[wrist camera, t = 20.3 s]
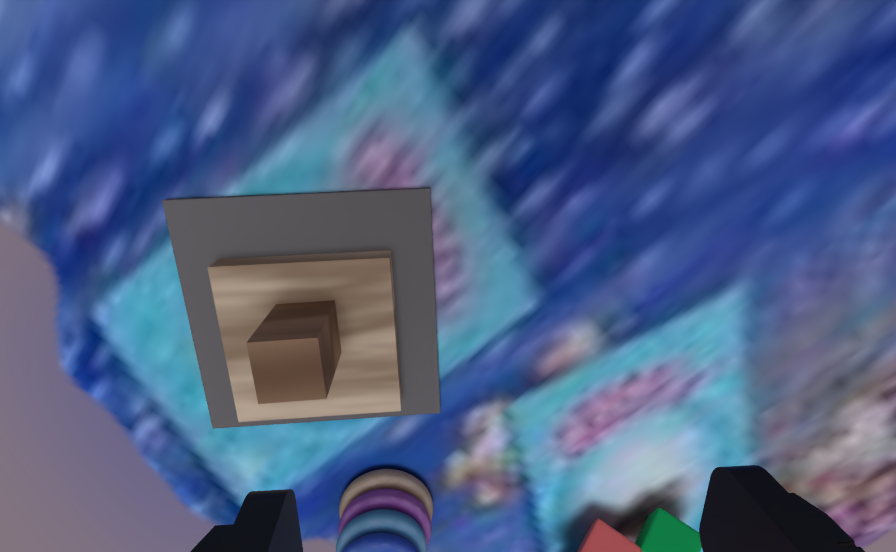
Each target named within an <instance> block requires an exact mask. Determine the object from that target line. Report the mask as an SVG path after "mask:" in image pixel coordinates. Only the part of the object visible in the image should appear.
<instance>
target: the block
mask: <svg viewBox="0 0 896 552" xmlns="http://www.w3.org/2000/svg"><path fill="white" fill-rule="evenodd" d="M246 344H247V350H248V355H249V360H250V365H251V370H252V375H253V380H254V385H255V390H256V395H257V400H258V404H267V403H280V402H293V401H306V400H319V399H327V396H328V393H329V390H330V387H331V384H332V381H333V378H334V374H335V371H336V368H337V365H338V362H339V359H340V356H341V353H342V352H341V344H340V337H339V329H338V321H337V313H336V306H335V300H331V301H316V302H301V303H287V304H276V305H275V306H274V307H273V309H272V310H271V311H270V313H269V314H268V315H267V316H266V318H265V319H264V320H263V322H262V323H261V324H260V325H259V327H258V328H257V329H256V331H255V332H254V333H253V335H252V336H251V337H250V338H249V340H248V341H247V342H246Z"/></svg>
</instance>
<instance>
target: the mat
mask: <svg viewBox="0 0 896 552" xmlns="http://www.w3.org/2000/svg"><path fill="white" fill-rule="evenodd" d="M162 202H163V206H164V211H165V215H166V220H167V224H168V229H169V233H170V238H171V242H172V247H173V251H174V256H175V260H176V265H177V269H178V274H179V278H180V283H181V287H182V292H183V296H184V301H185V305H186V310H187V314H188V319H189V323H190V328H191V332H192V337H193V341H194V346H195V350H196V355H197V359H198V364H199V368H200V373H201V377H202V382H203V386H204V391H205V395H206V400H207V404H208V409H209V413H210V418H211V422H212V427H213V428H228V427H242V426H257V425H271V424H286V423H300V422H315V421H329V420H344V419H358V418H373V417H387V416H402V415H416V414H431V413H440V393H439V372H438V351H437V329H436V308H435V286H434V265H433V243H432V222H431V201H430V188H409V189H387V190H364V191H341V192H319V193H296V194H273V195H251V196H228V197H205V198H183V199H166V200H162ZM385 250H391V259H392V273H393V286H394V299H395V313H396V326H397V339H398V353H399V366H400V379H401V393H402V403H401V411H395V412H380V413H366V414H351V415H337V416H322V417H307V418H293V419H278V420H264V421H249V422H238V417H237V412H236V407H235V402H234V397H233V392H232V387H231V382H230V377H229V372H228V367H227V362H226V357H225V352H224V347H223V343H222V338H221V333H220V328H219V323H218V318H217V313H216V308H215V303H214V298H213V293H212V288H211V283H210V278H209V273H208V268H207V267H208V266H210V265H211V264H213V263H214V262H216V261H217V260H218V259H228V258H247V257H267V256H287V255H306V254H326V253H346V252H365V251H385Z"/></svg>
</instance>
